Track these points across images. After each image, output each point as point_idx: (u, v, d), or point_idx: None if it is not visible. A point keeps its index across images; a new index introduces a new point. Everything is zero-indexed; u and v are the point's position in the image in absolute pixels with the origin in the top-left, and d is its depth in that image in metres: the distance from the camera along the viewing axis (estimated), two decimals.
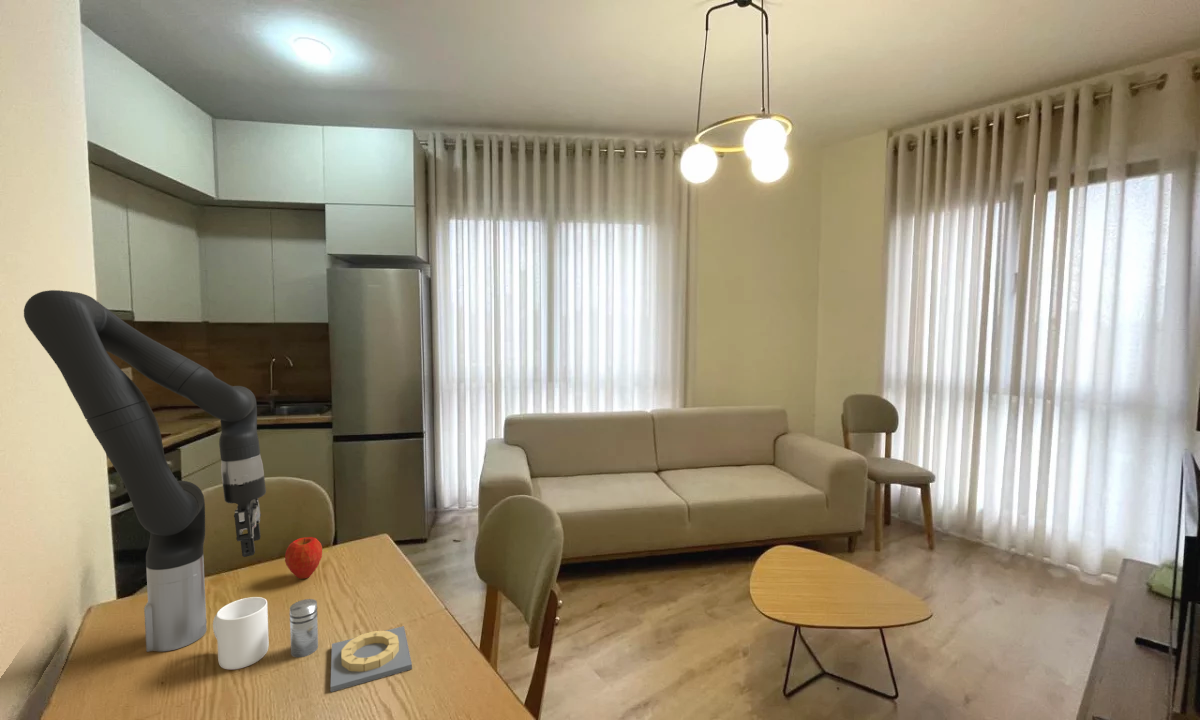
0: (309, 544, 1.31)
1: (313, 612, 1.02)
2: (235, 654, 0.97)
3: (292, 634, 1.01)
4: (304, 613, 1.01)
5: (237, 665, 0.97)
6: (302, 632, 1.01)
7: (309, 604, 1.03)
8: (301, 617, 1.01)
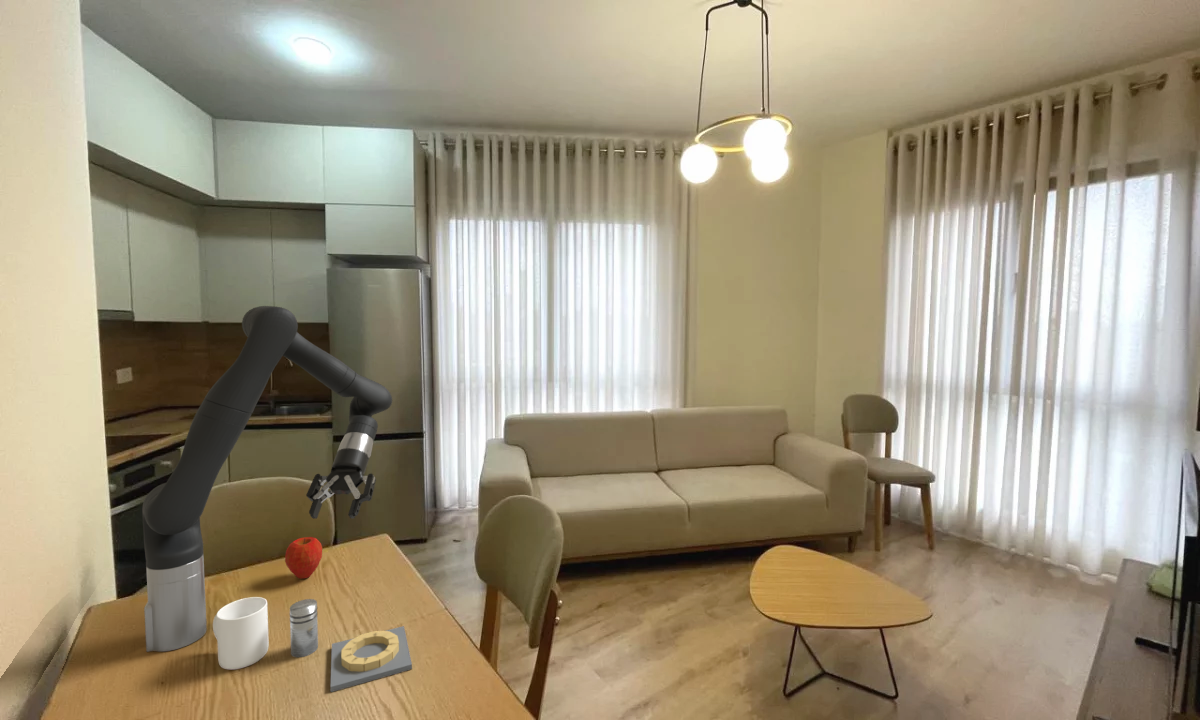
0: (309, 544, 1.31)
1: (313, 612, 1.02)
2: (235, 654, 0.97)
3: (292, 634, 1.01)
4: (304, 613, 1.01)
5: (237, 665, 0.97)
6: (302, 632, 1.01)
7: (309, 604, 1.03)
8: (301, 617, 1.01)
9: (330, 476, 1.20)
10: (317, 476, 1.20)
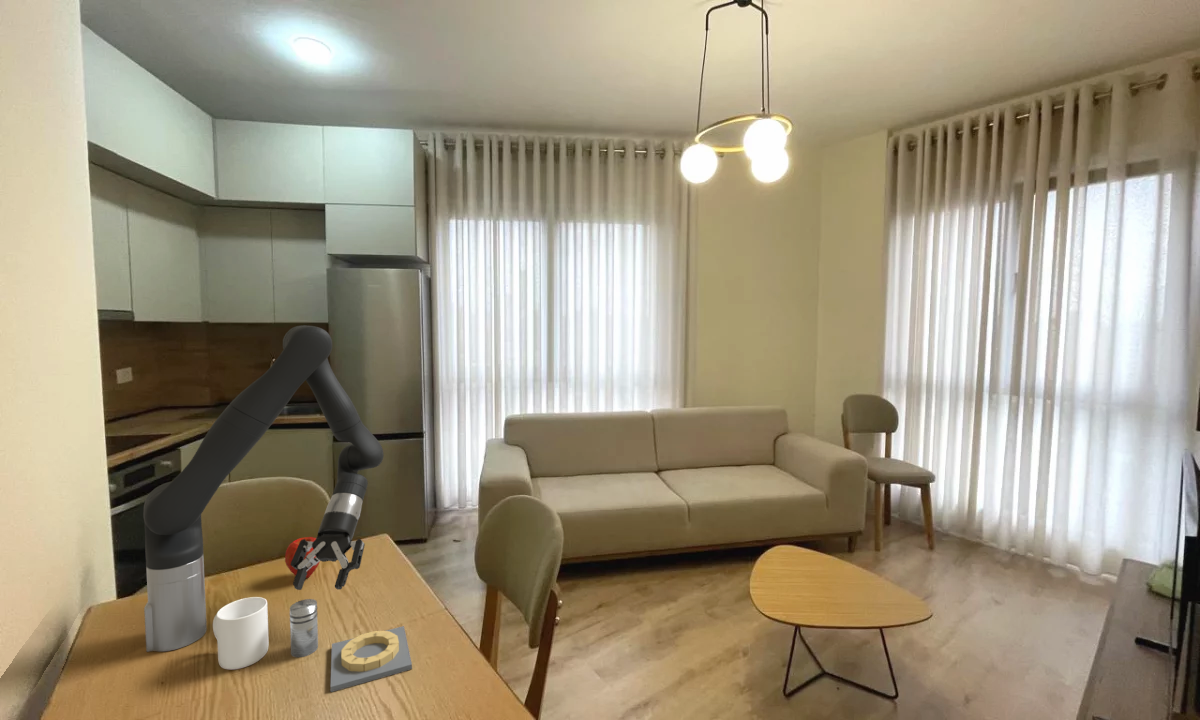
0: None
1: (313, 612, 1.02)
2: (235, 654, 0.97)
3: (292, 634, 1.01)
4: (304, 613, 1.01)
5: (237, 665, 0.97)
6: (302, 632, 1.01)
7: (309, 604, 1.03)
8: (301, 617, 1.01)
9: (316, 542, 1.14)
10: (302, 542, 1.14)
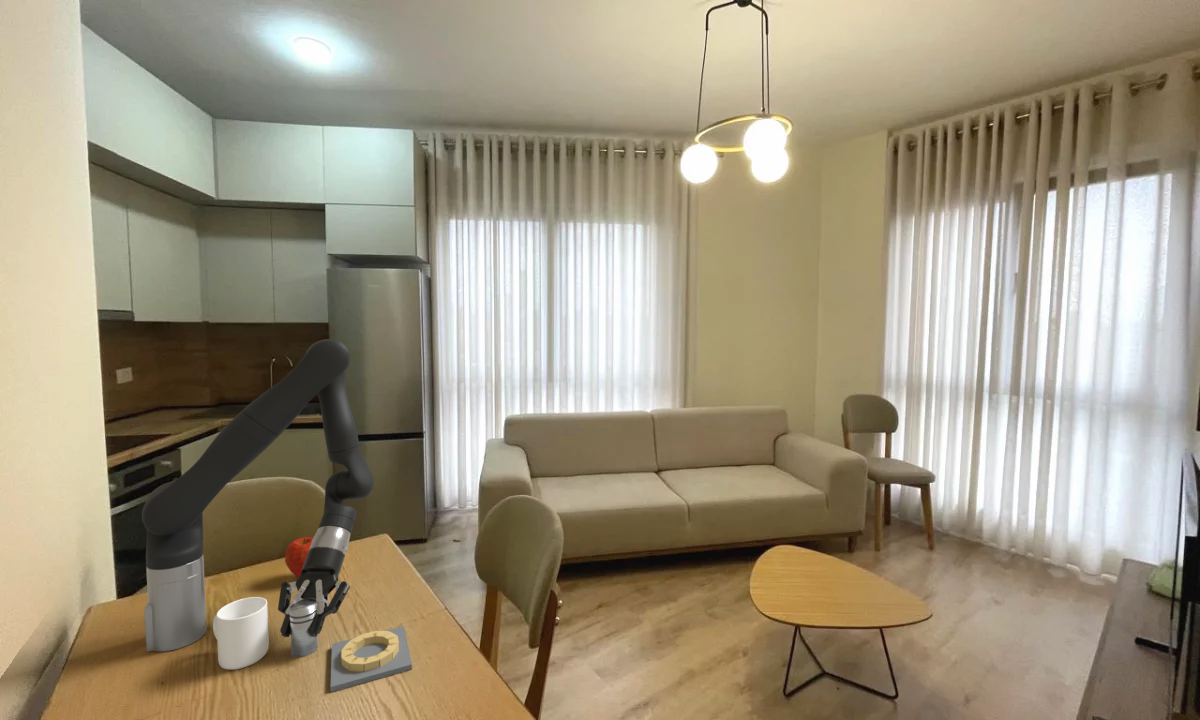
0: (309, 544, 1.31)
1: (313, 612, 1.02)
2: (235, 654, 0.97)
3: (292, 634, 1.01)
4: (304, 613, 1.01)
5: (237, 665, 0.97)
6: (302, 632, 1.01)
7: (309, 604, 1.03)
8: (301, 617, 1.01)
9: (300, 580, 1.07)
10: (284, 585, 1.06)
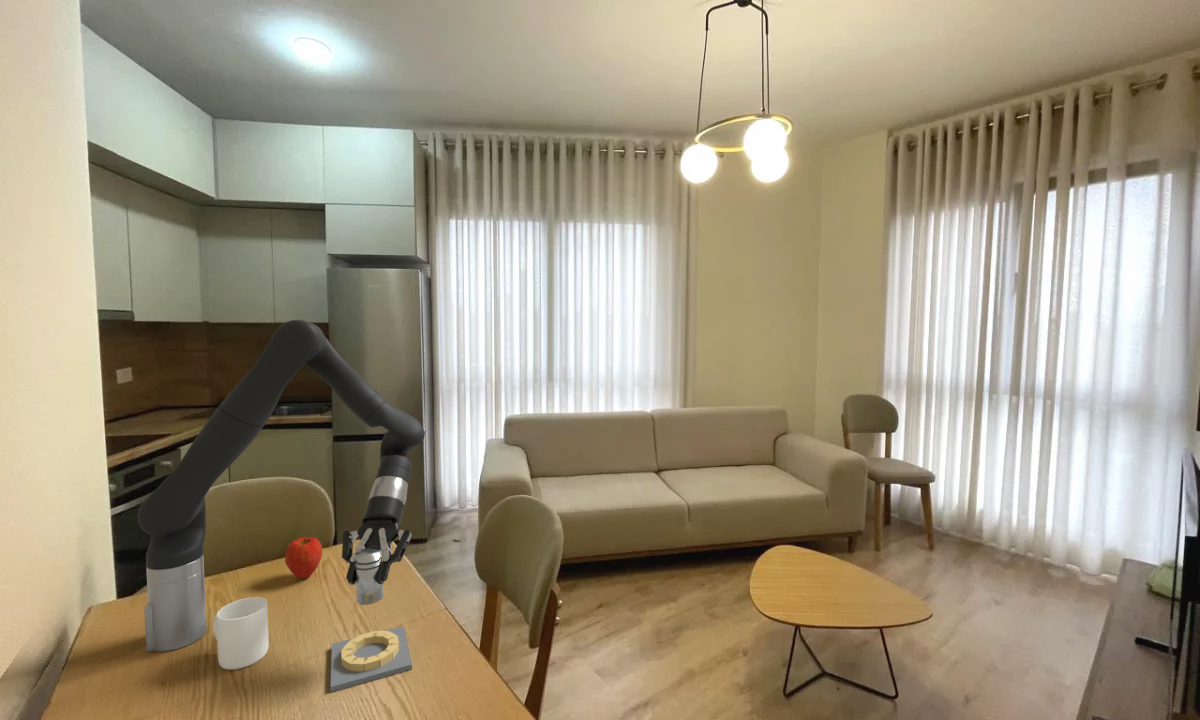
0: (309, 544, 1.31)
1: (379, 559, 1.00)
2: (235, 654, 0.97)
3: (358, 581, 0.98)
4: (371, 559, 0.98)
5: (237, 665, 0.97)
6: (369, 579, 0.98)
7: (374, 551, 1.00)
8: (368, 563, 0.98)
9: (362, 529, 1.04)
10: (346, 533, 1.04)
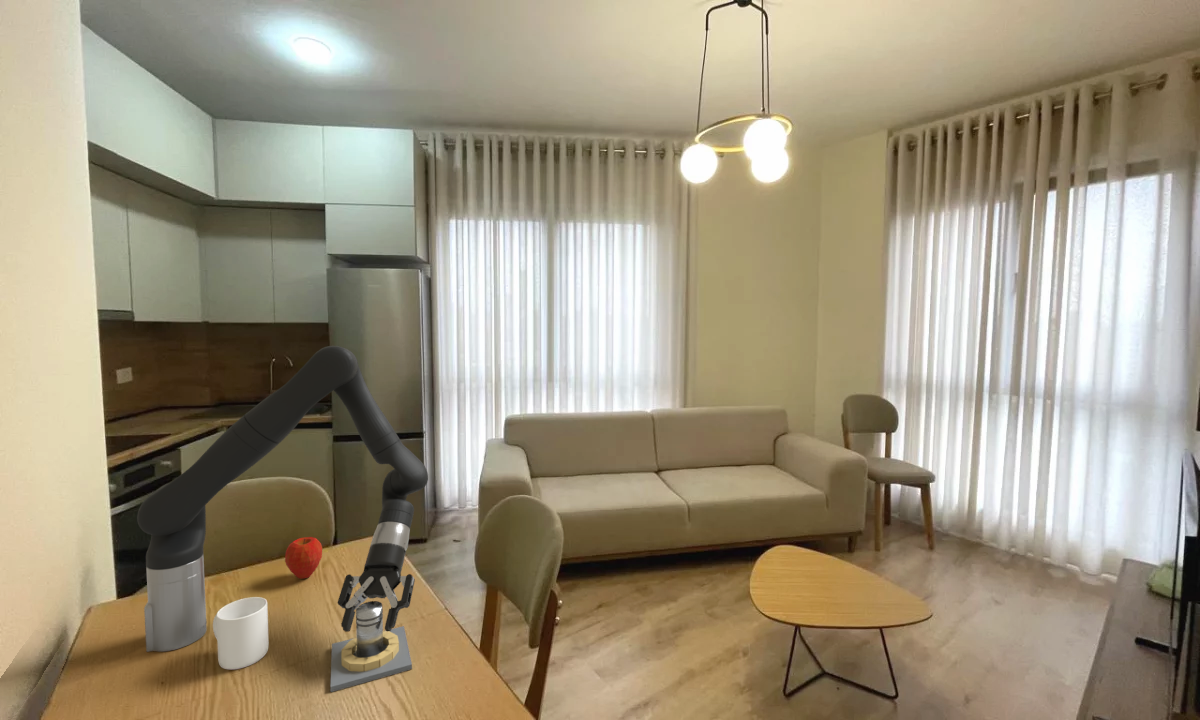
0: (309, 544, 1.31)
1: (379, 614, 1.00)
2: (235, 654, 0.97)
3: (359, 637, 0.99)
4: (371, 616, 0.99)
5: (237, 665, 0.97)
6: (369, 635, 0.99)
7: (375, 606, 1.01)
8: (369, 620, 0.98)
9: (363, 577, 1.05)
10: (348, 578, 1.04)
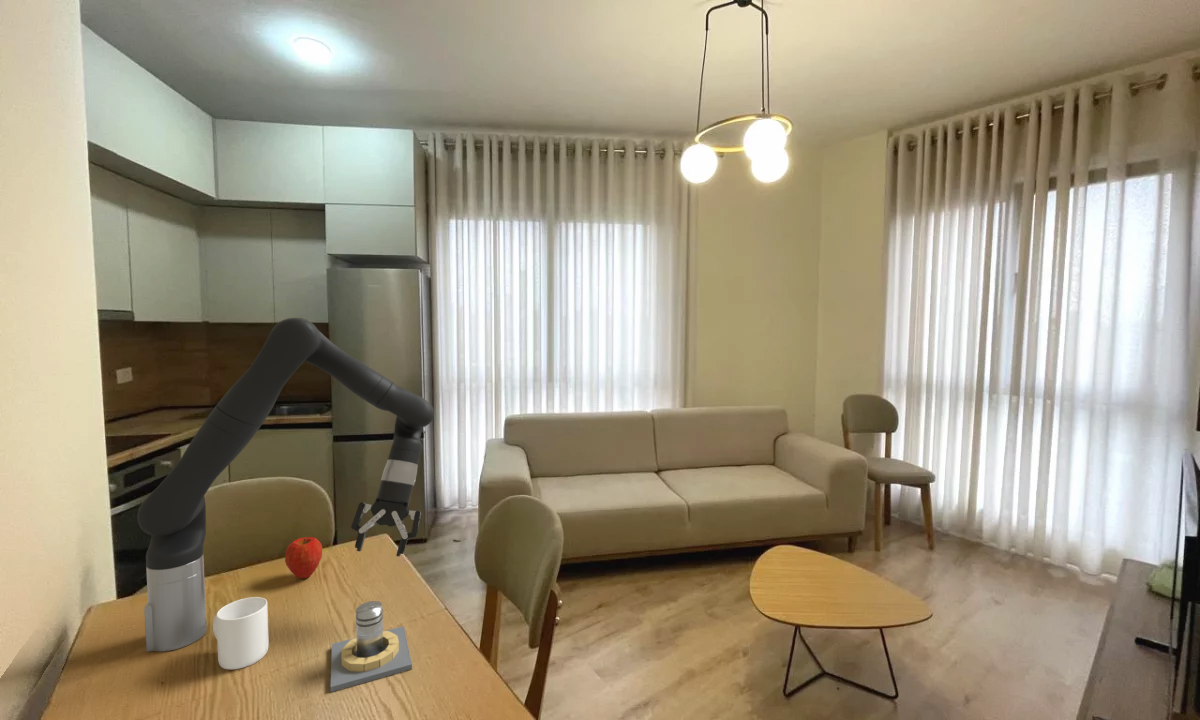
0: (309, 544, 1.31)
1: (379, 614, 1.00)
2: (235, 654, 0.97)
3: (359, 637, 0.99)
4: (371, 616, 0.99)
5: (237, 665, 0.97)
6: (369, 635, 0.99)
7: (375, 606, 1.01)
8: (368, 620, 0.98)
9: (375, 507, 1.15)
10: (361, 505, 1.15)
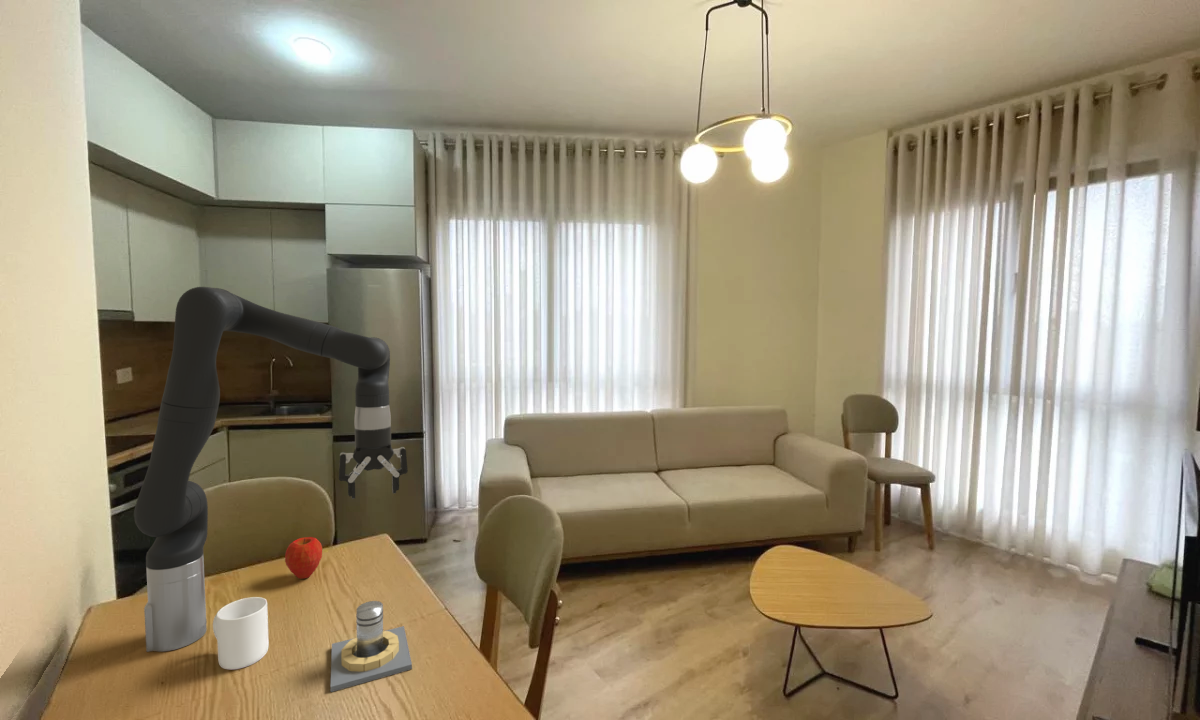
0: (309, 544, 1.31)
1: (380, 614, 1.00)
2: (235, 654, 0.97)
3: (359, 637, 0.99)
4: (372, 615, 0.99)
5: (237, 665, 0.97)
6: (370, 635, 0.99)
7: (375, 606, 1.01)
8: (369, 619, 0.98)
9: (358, 455, 1.12)
10: (343, 457, 1.11)
